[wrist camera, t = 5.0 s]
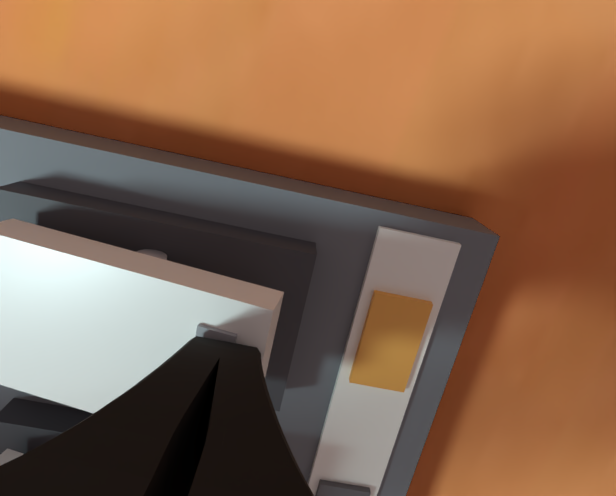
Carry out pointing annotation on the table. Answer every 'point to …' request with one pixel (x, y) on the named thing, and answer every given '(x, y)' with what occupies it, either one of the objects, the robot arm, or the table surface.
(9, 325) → the rocker
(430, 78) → the table surface
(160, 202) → the panel
